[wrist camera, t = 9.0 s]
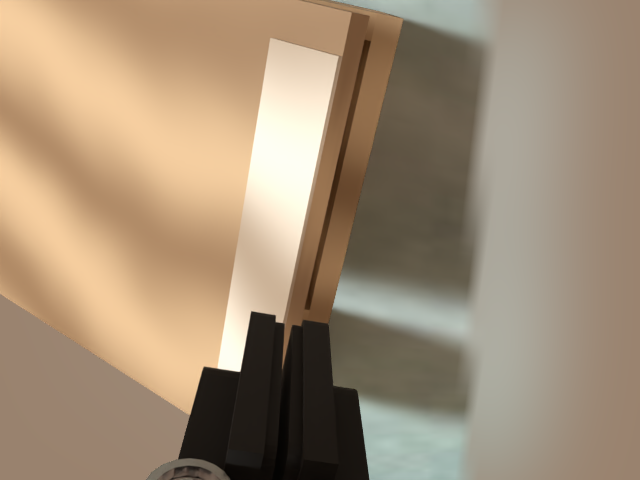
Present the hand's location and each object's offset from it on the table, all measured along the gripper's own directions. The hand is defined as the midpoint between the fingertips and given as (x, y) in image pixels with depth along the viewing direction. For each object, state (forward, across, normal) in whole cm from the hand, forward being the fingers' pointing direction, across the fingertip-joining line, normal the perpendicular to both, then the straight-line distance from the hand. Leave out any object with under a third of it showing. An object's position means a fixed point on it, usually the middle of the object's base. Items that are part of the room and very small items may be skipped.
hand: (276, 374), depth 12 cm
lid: (+9, +5, 0) cm, 10 cm away
